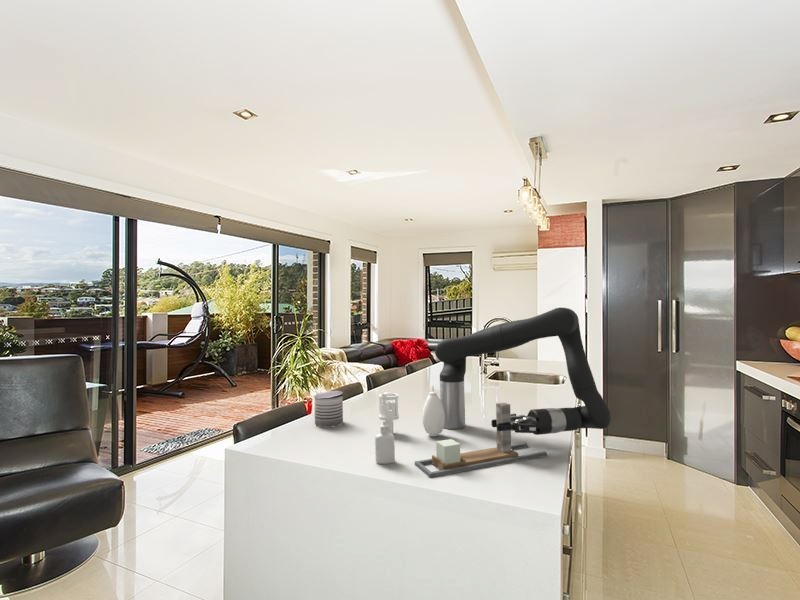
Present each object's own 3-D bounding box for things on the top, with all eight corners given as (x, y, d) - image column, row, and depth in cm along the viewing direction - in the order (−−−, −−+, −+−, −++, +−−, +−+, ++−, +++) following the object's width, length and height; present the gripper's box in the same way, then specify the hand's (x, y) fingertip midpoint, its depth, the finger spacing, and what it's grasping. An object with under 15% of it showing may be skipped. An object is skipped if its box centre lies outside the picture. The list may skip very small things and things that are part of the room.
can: (340, 427, 164) (340, 396, 164) (311, 427, 164) (310, 396, 164) (345, 419, 175) (344, 390, 176) (317, 419, 176) (317, 390, 176)
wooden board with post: (432, 463, 124) (430, 409, 124) (504, 450, 133) (503, 400, 134) (443, 471, 118) (442, 415, 118) (518, 458, 127) (517, 405, 127)
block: (436, 458, 124) (436, 441, 124) (451, 456, 125) (451, 439, 125) (444, 464, 119) (444, 446, 119) (460, 461, 121) (460, 444, 121)
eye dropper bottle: (379, 458, 130) (378, 418, 130) (396, 460, 128) (395, 420, 128) (373, 463, 126) (372, 422, 126) (391, 465, 124) (390, 423, 124)
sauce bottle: (444, 440, 146) (442, 387, 146) (421, 439, 147) (420, 386, 148) (446, 433, 154) (445, 382, 154) (424, 432, 155) (423, 382, 155)
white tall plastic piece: (375, 434, 153) (375, 392, 154) (385, 429, 160) (384, 389, 160) (393, 437, 150) (392, 394, 150) (402, 431, 156) (401, 390, 157)
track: (414, 465, 124) (414, 461, 124) (525, 445, 138) (525, 442, 138) (429, 477, 114) (429, 473, 114) (547, 455, 129) (546, 452, 129)
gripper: (534, 403, 139) (484, 407, 136) (559, 414, 125) (504, 418, 122) (535, 426, 139) (485, 431, 136) (560, 440, 125) (505, 445, 122)
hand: (495, 425), depth 129 cm, fingers closed on wooden board with post, 3 cm apart
